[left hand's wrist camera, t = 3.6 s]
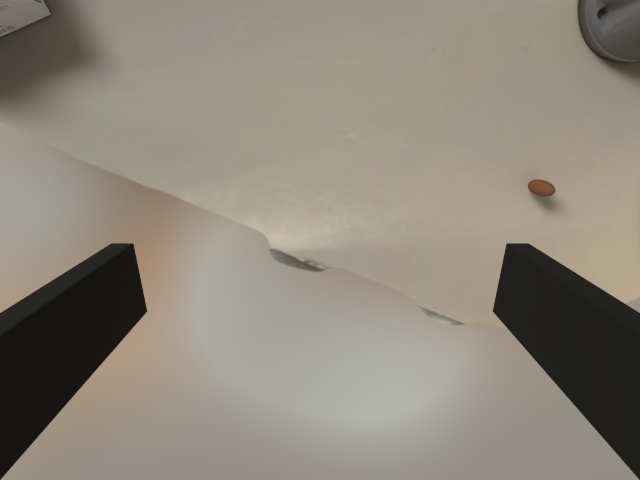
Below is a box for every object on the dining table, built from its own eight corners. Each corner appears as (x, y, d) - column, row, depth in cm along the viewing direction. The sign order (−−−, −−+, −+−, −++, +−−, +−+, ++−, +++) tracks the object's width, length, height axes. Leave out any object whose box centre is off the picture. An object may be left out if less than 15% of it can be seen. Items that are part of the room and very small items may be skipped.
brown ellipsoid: (534, 174, 48) (557, 180, 43) (539, 185, 48) (563, 193, 44) (520, 182, 48) (542, 190, 44) (526, 193, 49) (548, 202, 44)
